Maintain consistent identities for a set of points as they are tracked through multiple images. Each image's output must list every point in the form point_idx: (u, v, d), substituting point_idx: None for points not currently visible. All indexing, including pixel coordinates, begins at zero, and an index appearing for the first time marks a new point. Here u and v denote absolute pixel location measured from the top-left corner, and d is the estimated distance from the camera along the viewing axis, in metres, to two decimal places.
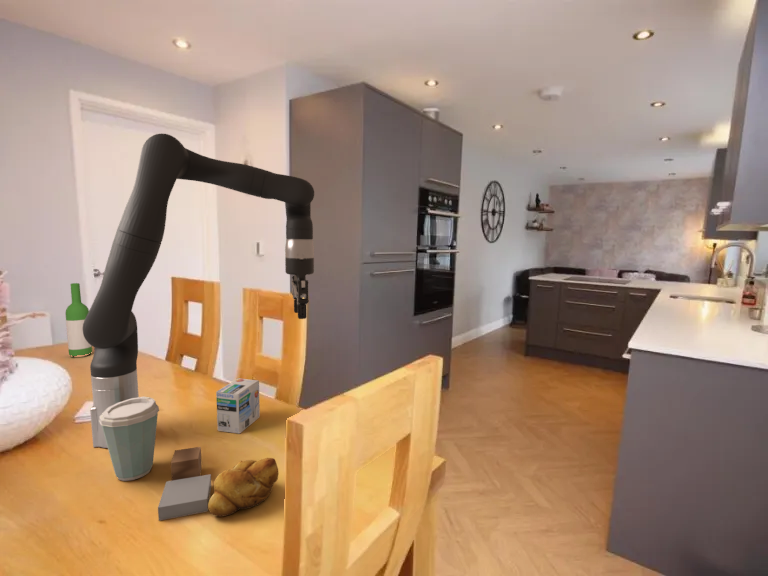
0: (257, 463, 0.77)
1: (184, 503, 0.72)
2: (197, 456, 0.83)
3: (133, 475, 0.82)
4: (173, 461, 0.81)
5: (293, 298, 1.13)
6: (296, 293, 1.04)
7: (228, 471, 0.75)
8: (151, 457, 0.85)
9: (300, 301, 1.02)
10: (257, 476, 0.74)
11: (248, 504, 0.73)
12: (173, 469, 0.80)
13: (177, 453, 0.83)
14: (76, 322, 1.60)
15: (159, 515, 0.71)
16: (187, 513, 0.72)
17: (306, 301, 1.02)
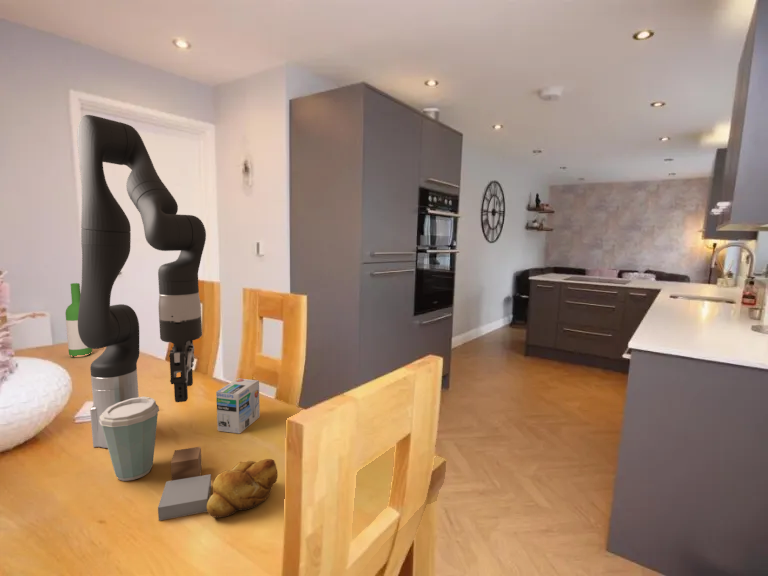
0: (256, 464, 0.76)
1: (184, 503, 0.72)
2: (197, 456, 0.83)
3: (133, 475, 0.82)
4: (173, 461, 0.81)
5: None
6: None
7: (227, 472, 0.74)
8: (151, 457, 0.85)
9: (173, 381, 0.74)
10: (256, 477, 0.74)
11: (247, 505, 0.72)
12: (173, 469, 0.80)
13: (177, 453, 0.83)
14: (76, 322, 1.60)
15: (159, 515, 0.71)
16: (187, 513, 0.72)
17: (182, 381, 0.75)
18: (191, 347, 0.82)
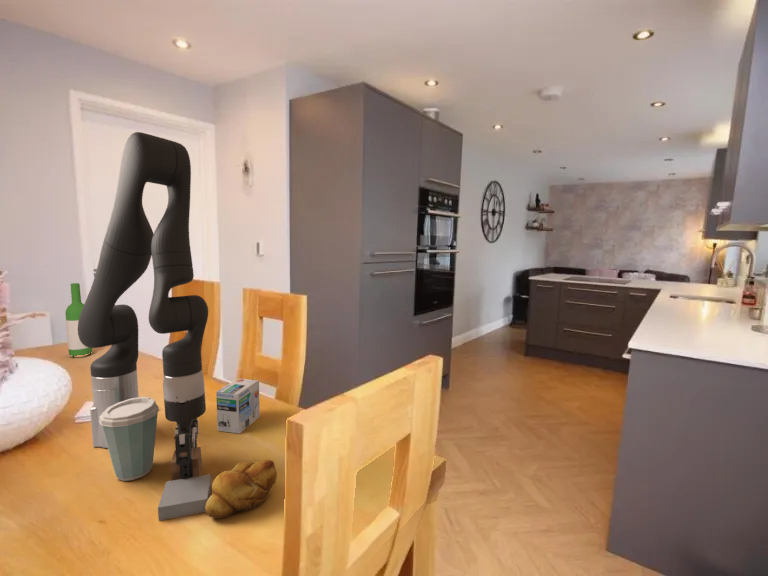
0: (255, 465, 0.76)
1: (184, 503, 0.72)
2: (197, 456, 0.83)
3: (133, 475, 0.82)
4: (173, 461, 0.81)
5: None
6: None
7: (226, 473, 0.74)
8: (151, 457, 0.85)
9: (179, 462, 0.76)
10: (255, 478, 0.74)
11: (245, 506, 0.72)
12: (173, 469, 0.80)
13: None
14: (76, 322, 1.60)
15: (159, 515, 0.71)
16: (187, 513, 0.72)
17: (187, 461, 0.77)
18: (195, 422, 0.84)
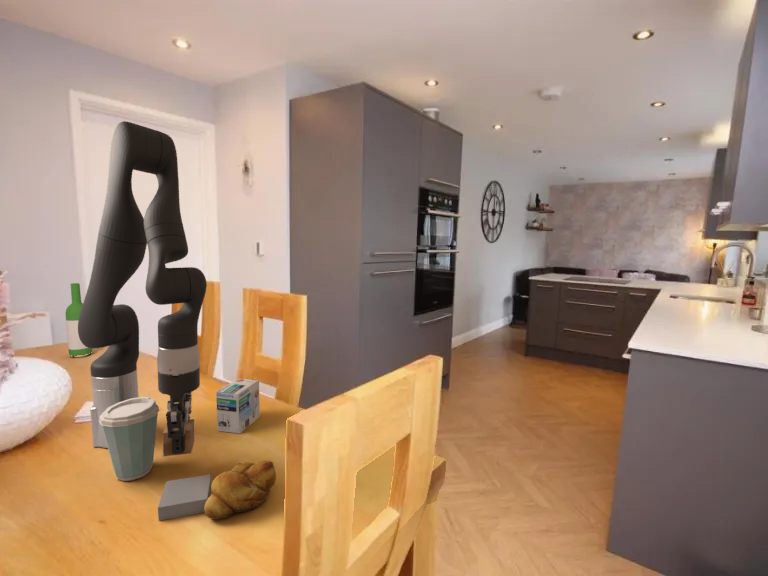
0: (254, 466, 0.76)
1: (184, 503, 0.72)
2: (190, 428, 0.81)
3: (133, 475, 0.82)
4: (165, 431, 0.79)
5: None
6: None
7: (225, 473, 0.74)
8: (151, 457, 0.85)
9: (170, 436, 0.77)
10: (254, 479, 0.73)
11: (244, 507, 0.72)
12: (165, 439, 0.79)
13: None
14: (76, 322, 1.60)
15: (159, 515, 0.71)
16: (187, 513, 0.72)
17: (179, 436, 0.77)
18: (189, 396, 0.83)
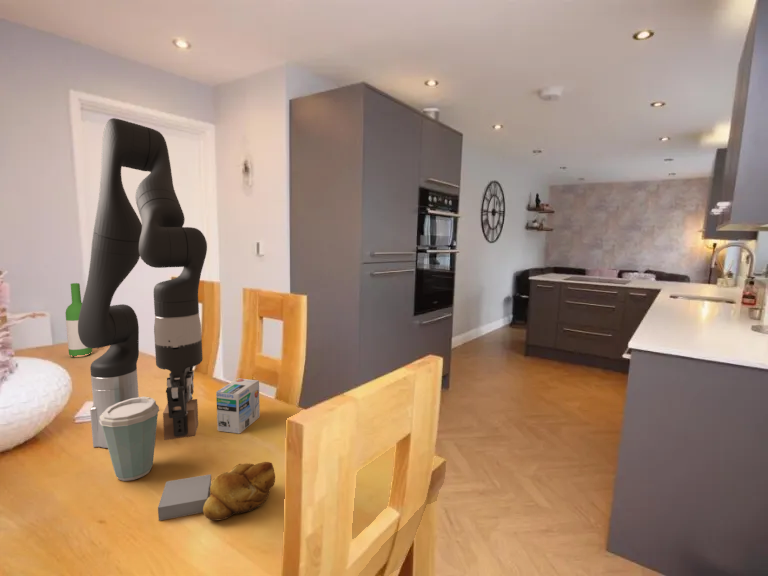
0: (254, 467, 0.75)
1: (184, 503, 0.72)
2: (193, 407, 0.73)
3: (133, 475, 0.82)
4: (166, 412, 0.71)
5: None
6: None
7: (224, 474, 0.74)
8: (151, 457, 0.85)
9: (172, 416, 0.68)
10: (253, 480, 0.73)
11: (243, 509, 0.71)
12: (166, 420, 0.71)
13: None
14: (76, 322, 1.60)
15: (159, 515, 0.71)
16: (187, 513, 0.72)
17: (182, 415, 0.68)
18: (190, 372, 0.74)
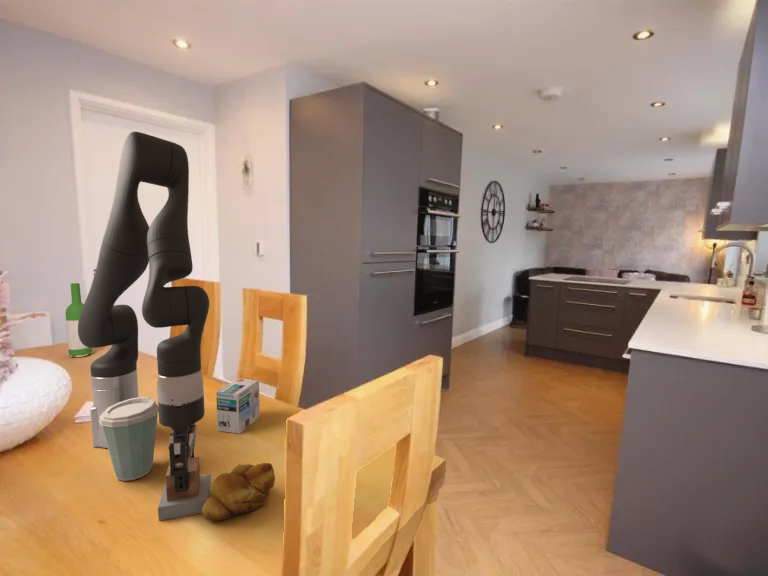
0: (253, 468, 0.75)
1: (184, 503, 0.72)
2: (195, 468, 0.74)
3: (133, 475, 0.82)
4: (168, 473, 0.72)
5: None
6: None
7: (224, 475, 0.73)
8: (151, 457, 0.85)
9: (173, 474, 0.68)
10: (252, 481, 0.73)
11: (242, 510, 0.71)
12: (168, 482, 0.72)
13: None
14: (76, 322, 1.60)
15: (159, 515, 0.71)
16: (187, 513, 0.72)
17: (183, 473, 0.69)
18: (193, 427, 0.75)
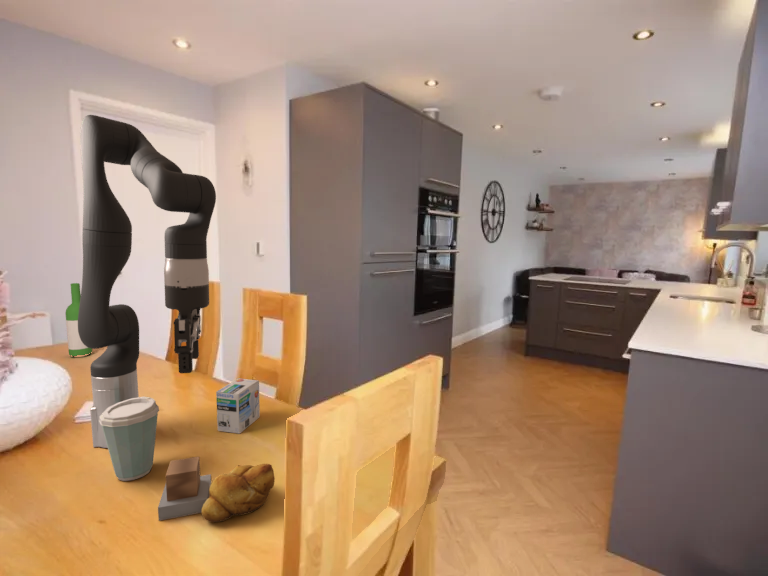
0: (253, 469, 0.75)
1: (184, 503, 0.72)
2: (195, 468, 0.74)
3: (133, 475, 0.82)
4: (168, 473, 0.72)
5: None
6: None
7: (223, 476, 0.73)
8: (151, 457, 0.85)
9: (177, 350, 0.70)
10: (252, 482, 0.73)
11: (242, 511, 0.71)
12: (168, 482, 0.72)
13: (173, 465, 0.75)
14: (76, 322, 1.60)
15: (159, 515, 0.71)
16: (187, 513, 0.72)
17: (187, 350, 0.70)
18: (197, 317, 0.77)
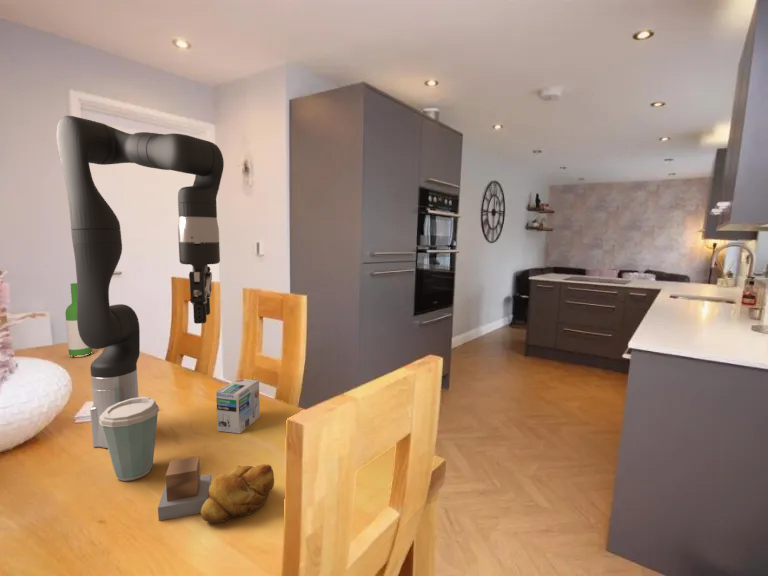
0: (253, 469, 0.74)
1: (184, 503, 0.72)
2: (195, 468, 0.74)
3: (133, 475, 0.82)
4: (168, 473, 0.72)
5: (197, 296, 0.86)
6: None
7: (223, 476, 0.73)
8: (151, 457, 0.85)
9: (193, 300, 0.75)
10: (251, 483, 0.72)
11: (241, 512, 0.71)
12: (168, 482, 0.72)
13: (173, 465, 0.75)
14: (76, 322, 1.60)
15: (159, 515, 0.71)
16: (187, 513, 0.72)
17: (202, 300, 0.76)
18: None
